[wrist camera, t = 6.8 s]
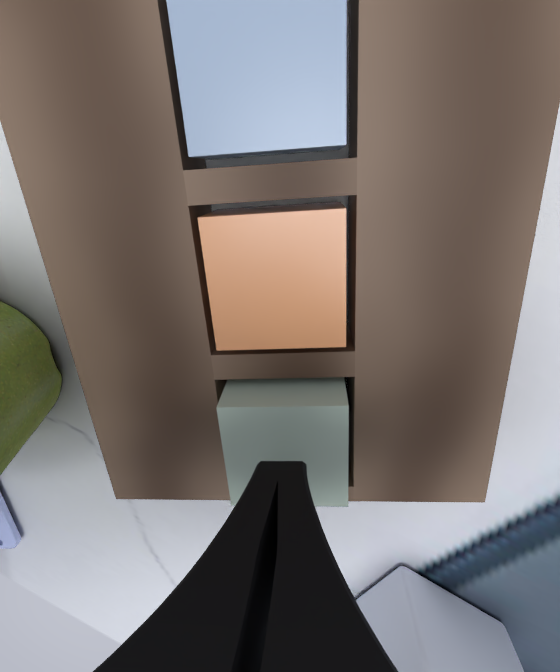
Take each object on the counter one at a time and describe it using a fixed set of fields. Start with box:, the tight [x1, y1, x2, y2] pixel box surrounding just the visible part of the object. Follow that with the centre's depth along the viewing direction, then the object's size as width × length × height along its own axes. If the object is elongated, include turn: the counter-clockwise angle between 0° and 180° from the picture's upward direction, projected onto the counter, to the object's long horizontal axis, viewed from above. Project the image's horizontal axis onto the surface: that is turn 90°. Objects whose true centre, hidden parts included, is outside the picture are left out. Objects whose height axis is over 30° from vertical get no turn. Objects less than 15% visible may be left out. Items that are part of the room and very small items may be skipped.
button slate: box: [166, 0, 347, 159], centre depth 10 cm, size 4×4×2 cm
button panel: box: [0, 0, 560, 502], centre depth 12 cm, size 14×17×2 cm
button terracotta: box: [198, 202, 346, 351], centre depth 12 cm, size 4×4×2 cm
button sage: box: [216, 377, 349, 507], centre depth 13 cm, size 4×4×2 cm
